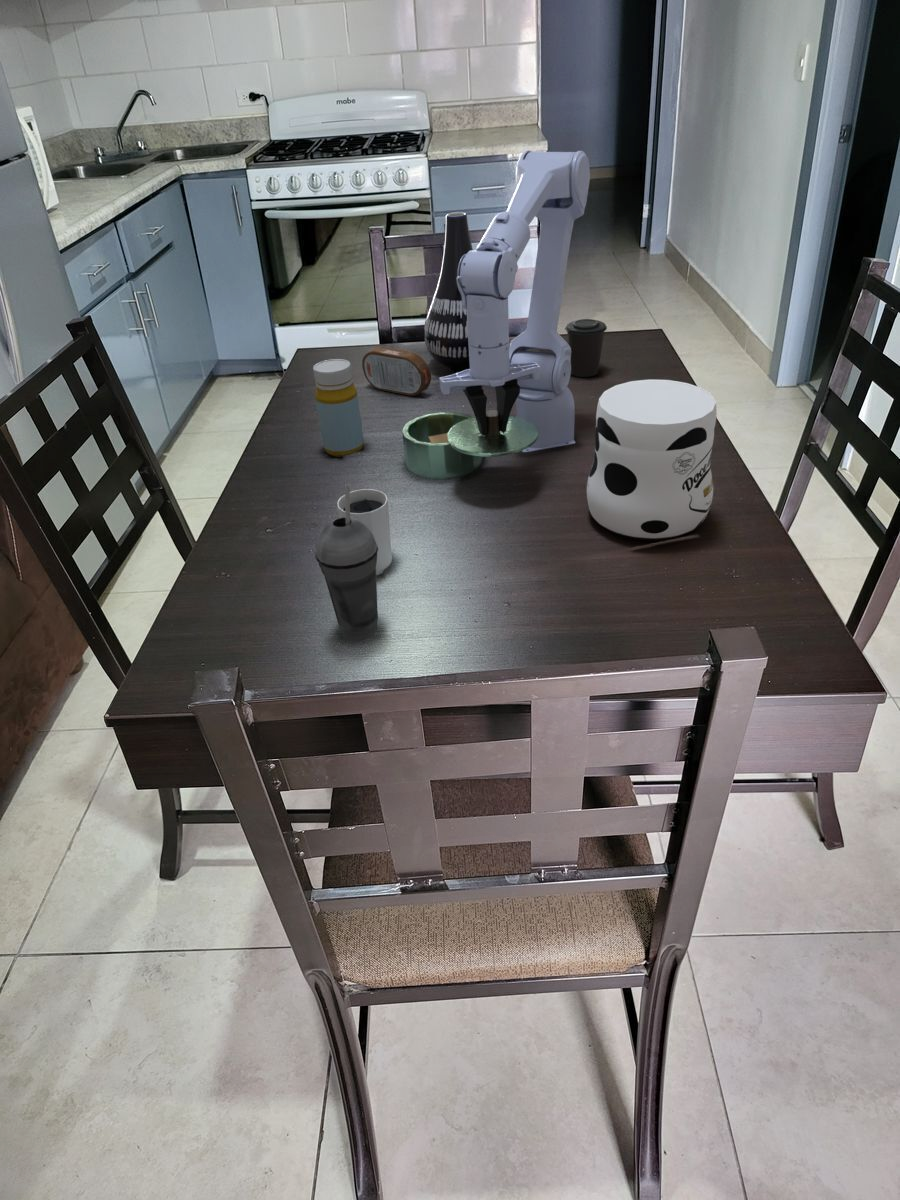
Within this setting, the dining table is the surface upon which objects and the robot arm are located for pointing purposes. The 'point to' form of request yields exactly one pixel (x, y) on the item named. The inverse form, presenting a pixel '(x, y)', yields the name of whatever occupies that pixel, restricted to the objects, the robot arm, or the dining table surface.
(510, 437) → the lid
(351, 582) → the beverage cup
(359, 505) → the white cylindrical cup
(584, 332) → the coffee cup
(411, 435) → the jar
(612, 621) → the dining table surface
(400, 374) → the tin
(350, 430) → the bottle
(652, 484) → the milk container
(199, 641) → the dining table surface
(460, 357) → the vase
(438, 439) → the block
